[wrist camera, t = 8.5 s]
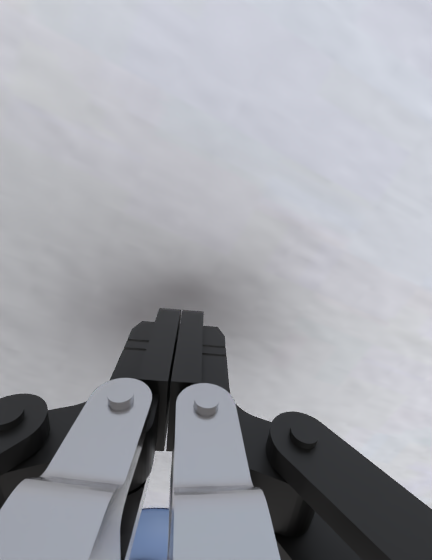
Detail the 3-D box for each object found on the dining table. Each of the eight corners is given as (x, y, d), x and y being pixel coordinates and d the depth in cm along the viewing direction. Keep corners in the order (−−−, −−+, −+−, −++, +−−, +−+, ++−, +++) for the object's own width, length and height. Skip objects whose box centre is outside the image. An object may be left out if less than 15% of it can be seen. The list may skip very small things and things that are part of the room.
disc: (83, 504, 24) (82, 506, 24) (241, 512, 25) (241, 515, 25) (88, 591, 29) (87, 594, 29) (221, 596, 30) (221, 599, 30)
